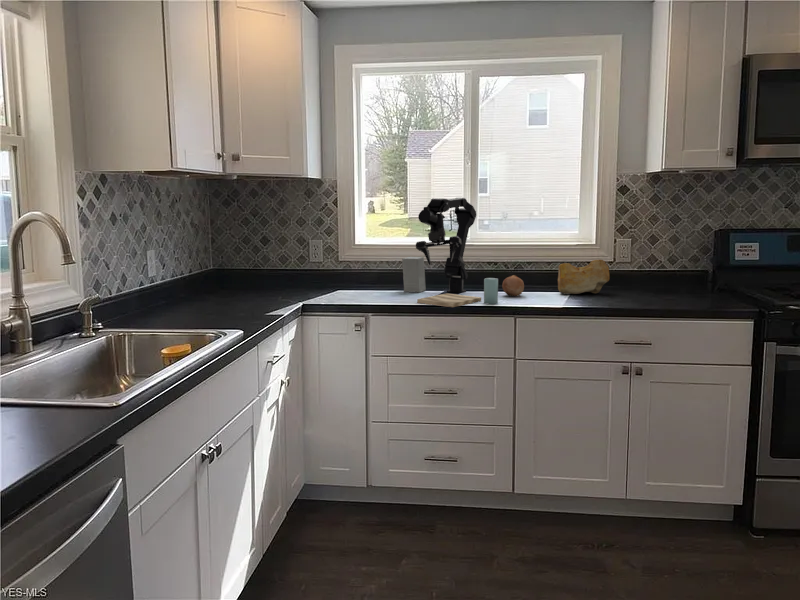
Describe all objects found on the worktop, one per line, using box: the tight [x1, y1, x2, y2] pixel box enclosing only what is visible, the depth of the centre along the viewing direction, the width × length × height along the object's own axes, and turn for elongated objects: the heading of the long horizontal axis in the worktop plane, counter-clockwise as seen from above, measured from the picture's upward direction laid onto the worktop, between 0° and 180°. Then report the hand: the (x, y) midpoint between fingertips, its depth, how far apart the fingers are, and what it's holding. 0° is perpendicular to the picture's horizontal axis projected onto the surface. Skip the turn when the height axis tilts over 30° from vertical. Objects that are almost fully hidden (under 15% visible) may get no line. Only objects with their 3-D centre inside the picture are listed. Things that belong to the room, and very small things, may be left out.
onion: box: [501, 274, 525, 297], centre depth 290 cm, size 10×9×10 cm
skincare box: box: [401, 256, 427, 293], centre depth 304 cm, size 8×7×16 cm
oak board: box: [417, 292, 482, 308], centre depth 276 cm, size 20×18×2 cm
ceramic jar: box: [483, 277, 499, 305], centre depth 272 cm, size 6×6×10 cm
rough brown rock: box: [557, 259, 611, 295], centre depth 298 cm, size 23×17×15 cm
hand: (440, 263), depth 280 cm, fingers open, 9 cm apart
